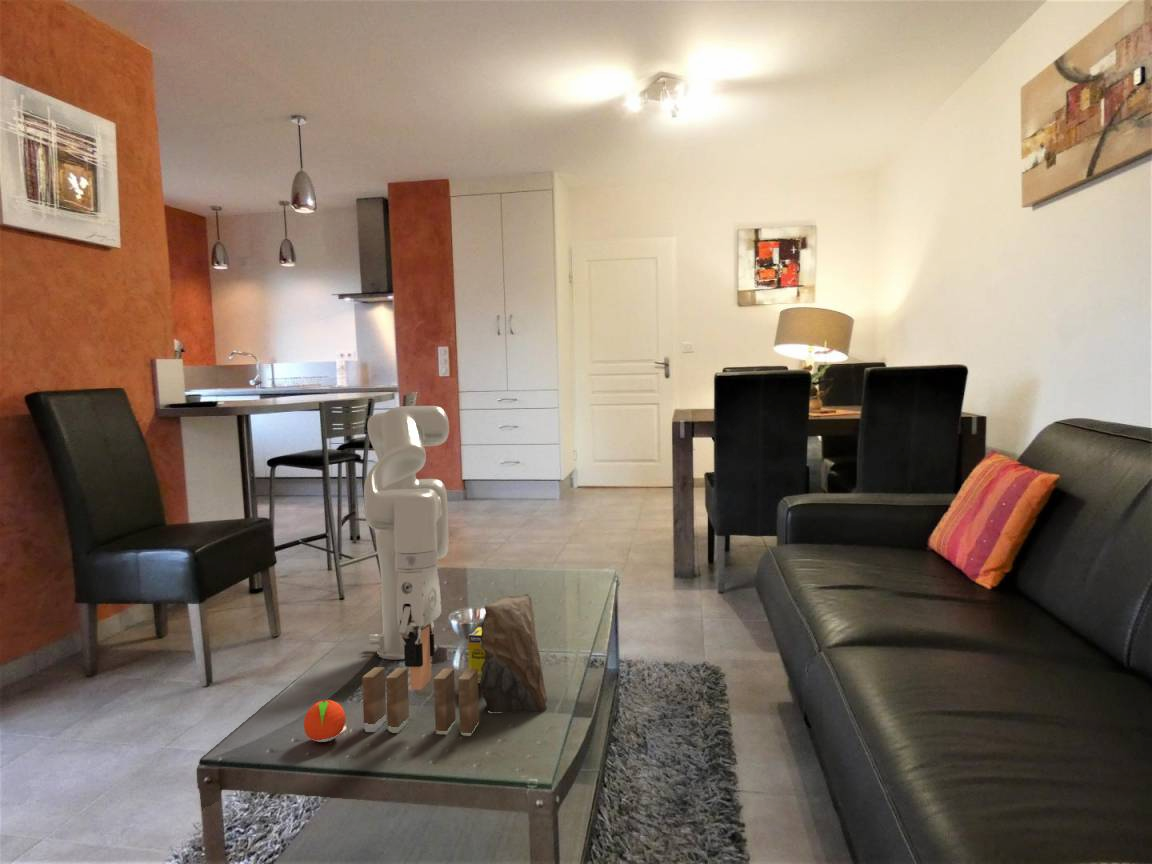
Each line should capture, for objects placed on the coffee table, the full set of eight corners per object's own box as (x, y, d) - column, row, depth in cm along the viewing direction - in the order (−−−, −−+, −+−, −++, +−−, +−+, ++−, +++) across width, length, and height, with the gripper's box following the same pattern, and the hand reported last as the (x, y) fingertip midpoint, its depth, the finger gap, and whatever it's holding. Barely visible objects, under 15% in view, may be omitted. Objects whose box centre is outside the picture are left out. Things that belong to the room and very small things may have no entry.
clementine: (344, 749, 113) (343, 707, 113) (301, 756, 111) (299, 713, 111) (347, 729, 121) (346, 690, 121) (306, 735, 119) (305, 696, 119)
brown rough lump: (480, 715, 125) (477, 609, 125) (483, 690, 138) (480, 593, 138) (547, 710, 126) (543, 605, 126) (544, 685, 139) (540, 590, 139)
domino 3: (431, 679, 123) (429, 625, 123) (421, 689, 118) (419, 633, 118) (420, 679, 123) (419, 625, 123) (410, 689, 118) (408, 633, 118)
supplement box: (496, 688, 139) (494, 635, 139) (468, 686, 140) (467, 634, 140) (504, 677, 144) (503, 627, 144) (478, 676, 146) (477, 626, 146)
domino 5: (460, 735, 117) (458, 679, 117) (468, 723, 122) (466, 669, 122) (471, 736, 117) (469, 679, 117) (479, 723, 121) (477, 669, 122)
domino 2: (387, 733, 119) (385, 677, 119) (399, 721, 124) (397, 667, 124) (398, 733, 118) (396, 677, 119) (409, 721, 123) (407, 667, 123)
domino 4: (435, 735, 117) (433, 678, 118) (445, 722, 122) (443, 668, 122) (446, 735, 117) (444, 678, 117) (455, 723, 122) (454, 668, 122)
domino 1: (364, 732, 119) (362, 677, 119) (376, 720, 124) (374, 667, 124) (374, 732, 119) (372, 677, 119) (386, 720, 124) (384, 667, 124)
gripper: (418, 569, 112) (422, 678, 111) (452, 552, 128) (455, 646, 128) (376, 569, 113) (380, 677, 112) (415, 552, 129) (418, 646, 129)
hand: (420, 659), depth 120 cm, fingers closed on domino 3, 4 cm apart
